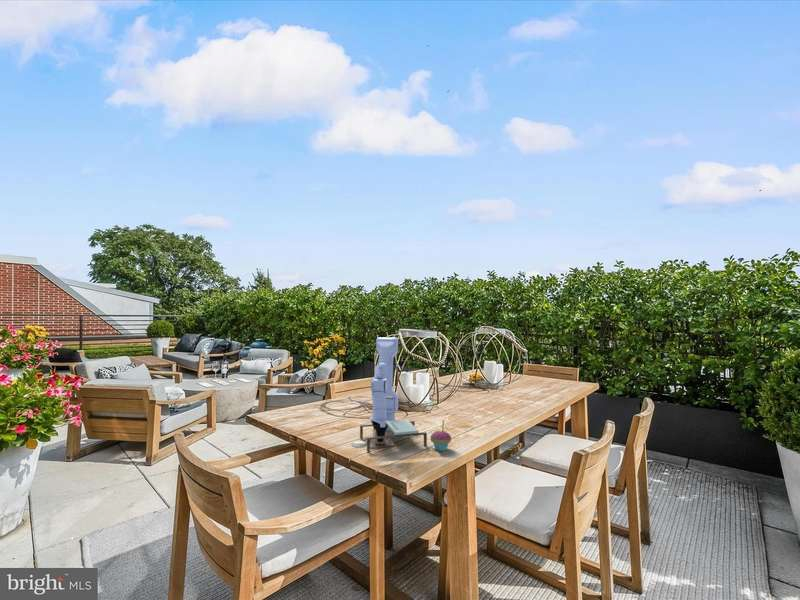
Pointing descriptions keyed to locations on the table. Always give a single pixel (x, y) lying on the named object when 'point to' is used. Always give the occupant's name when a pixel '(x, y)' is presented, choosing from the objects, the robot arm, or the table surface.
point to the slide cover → (401, 427)
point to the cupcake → (441, 439)
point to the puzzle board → (389, 442)
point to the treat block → (376, 439)
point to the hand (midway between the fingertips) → (379, 439)
